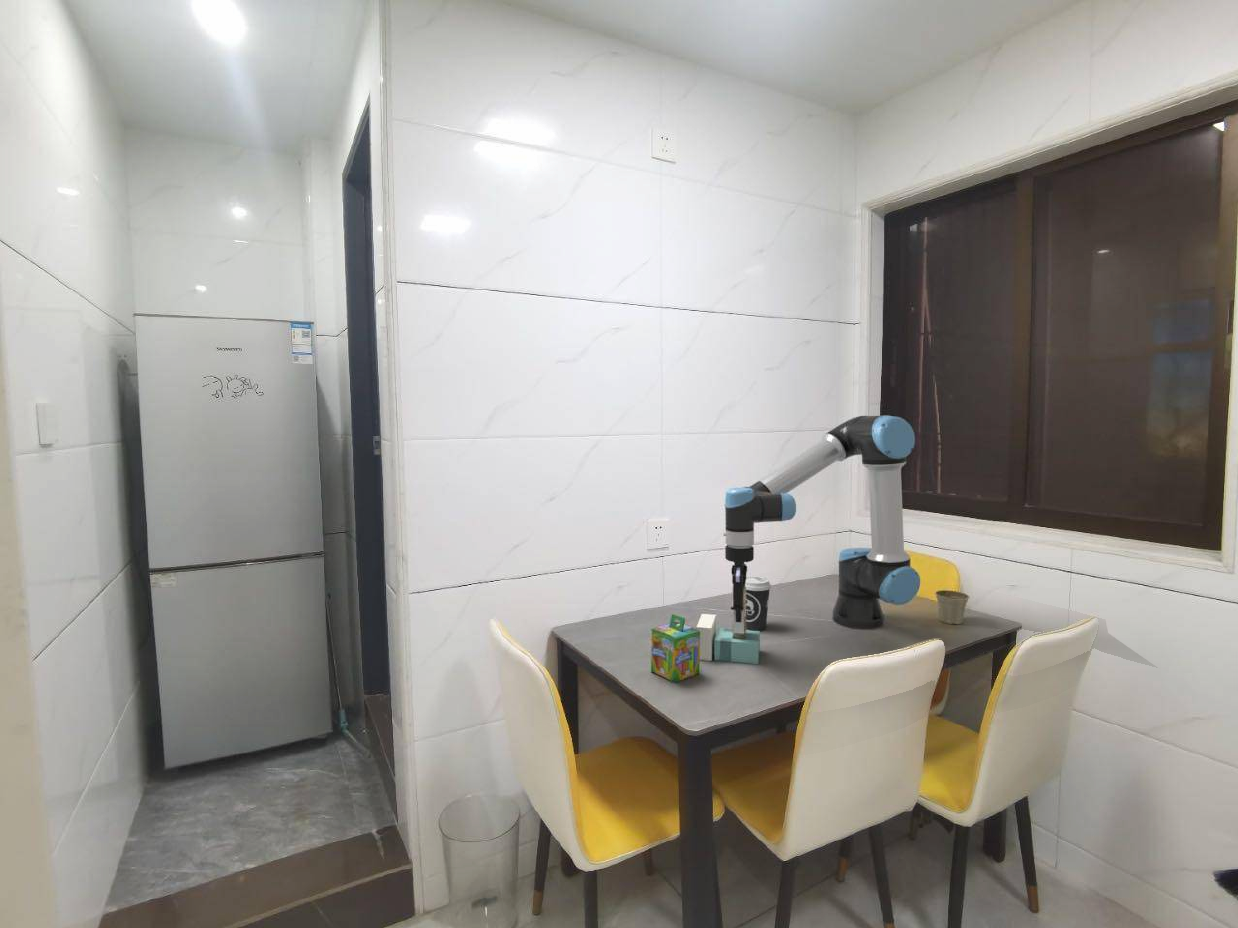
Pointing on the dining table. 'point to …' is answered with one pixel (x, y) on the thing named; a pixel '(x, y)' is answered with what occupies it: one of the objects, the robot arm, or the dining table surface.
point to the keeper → (737, 646)
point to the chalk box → (675, 650)
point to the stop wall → (707, 636)
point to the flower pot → (951, 606)
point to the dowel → (739, 635)
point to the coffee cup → (757, 602)
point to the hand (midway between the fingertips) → (739, 629)
